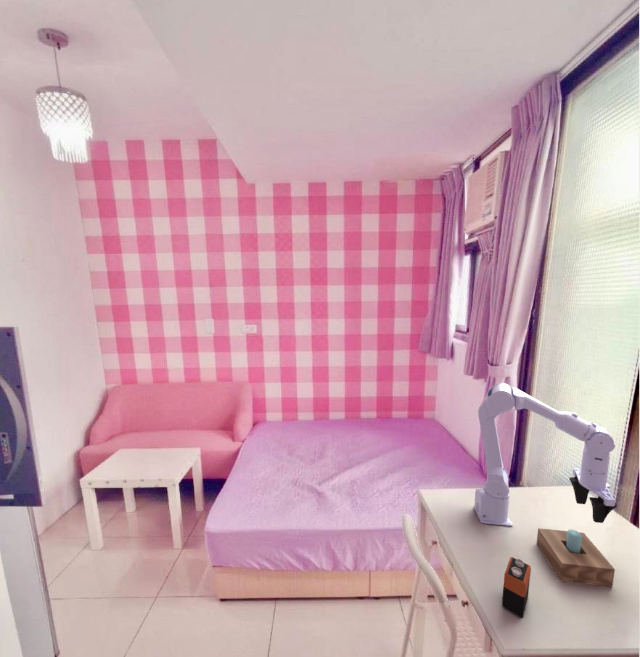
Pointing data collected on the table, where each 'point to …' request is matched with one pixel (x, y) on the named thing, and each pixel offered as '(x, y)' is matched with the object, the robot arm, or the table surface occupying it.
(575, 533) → the teal peg
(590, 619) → the table surface
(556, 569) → the socket block
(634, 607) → the table surface
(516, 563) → the battery
